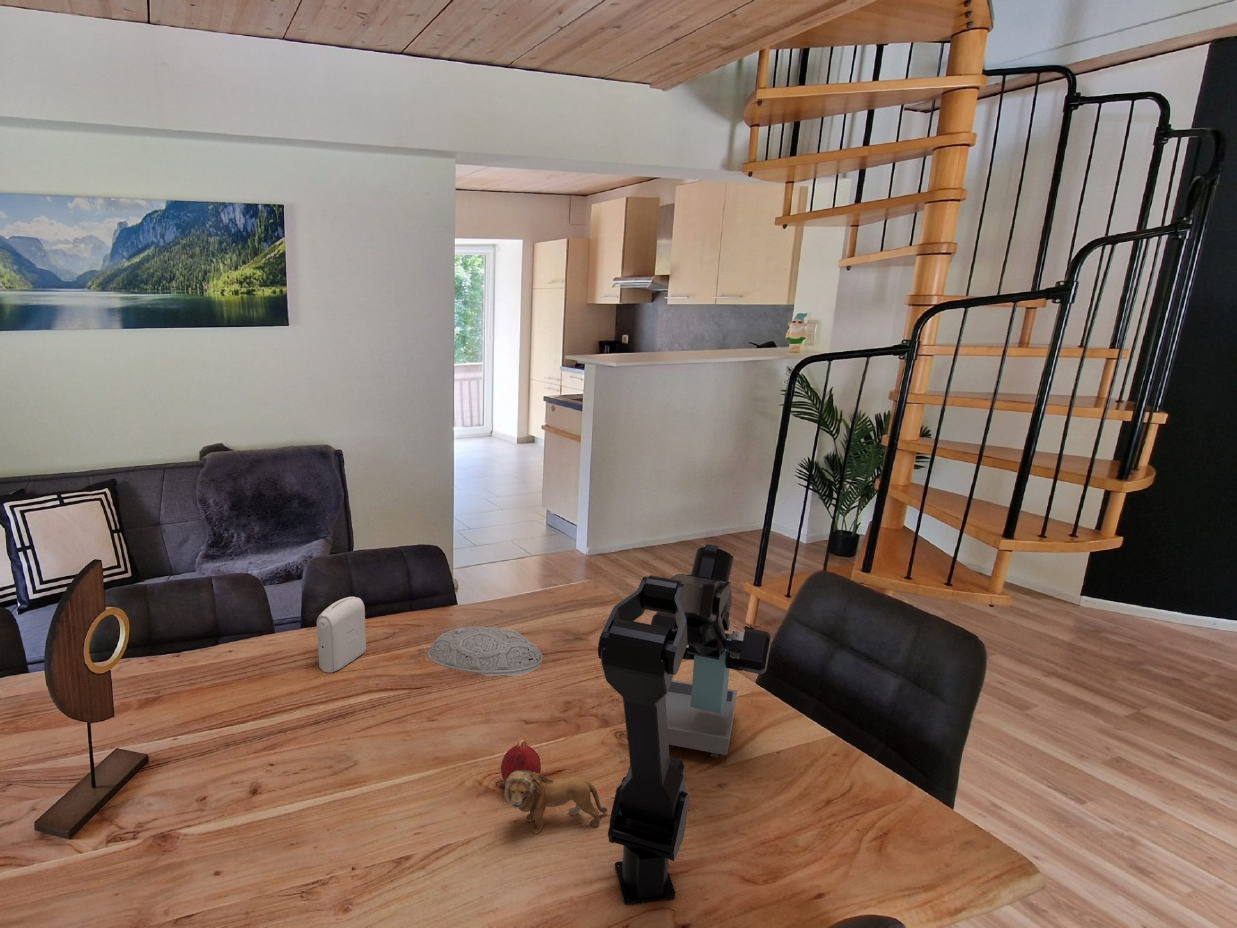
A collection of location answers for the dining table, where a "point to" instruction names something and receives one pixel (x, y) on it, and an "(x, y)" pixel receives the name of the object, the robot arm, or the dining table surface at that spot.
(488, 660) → the grey carved oval dome
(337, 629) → the photo printer
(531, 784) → the lion figurine
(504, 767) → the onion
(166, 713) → the dining table surface
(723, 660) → the light blue block
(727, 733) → the grey footed tray
